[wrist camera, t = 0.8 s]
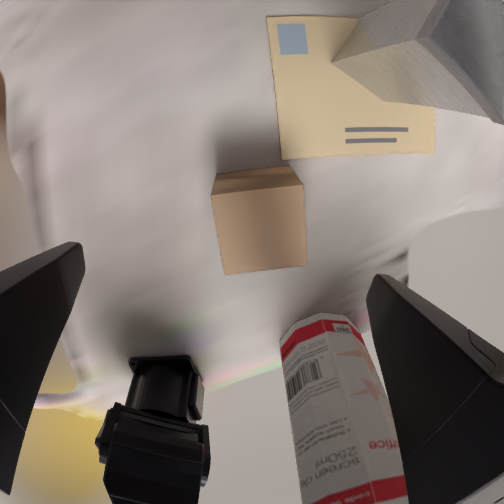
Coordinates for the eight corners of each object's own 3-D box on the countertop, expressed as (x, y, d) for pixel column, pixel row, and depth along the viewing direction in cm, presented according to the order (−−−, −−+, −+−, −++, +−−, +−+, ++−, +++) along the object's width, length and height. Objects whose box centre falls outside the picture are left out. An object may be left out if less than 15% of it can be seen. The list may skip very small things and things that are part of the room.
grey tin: (383, 103, 19) (505, 125, 8) (328, 63, 18) (426, 36, 7) (412, 55, 17) (537, 48, 6) (360, 15, 16) (467, -37, 5)
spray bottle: (270, 367, 30) (297, 623, 8) (289, 309, 27) (348, 631, 4) (342, 371, 31) (402, 595, 9) (370, 316, 28) (473, 577, 5)
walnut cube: (226, 239, 24) (224, 275, 19) (216, 173, 21) (210, 195, 17) (294, 231, 24) (307, 265, 19) (289, 165, 21) (303, 184, 17)
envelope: (281, 159, 21) (282, 160, 21) (266, 18, 16) (266, 17, 16) (433, 153, 21) (434, 153, 20) (426, 28, 16) (428, 28, 16)
